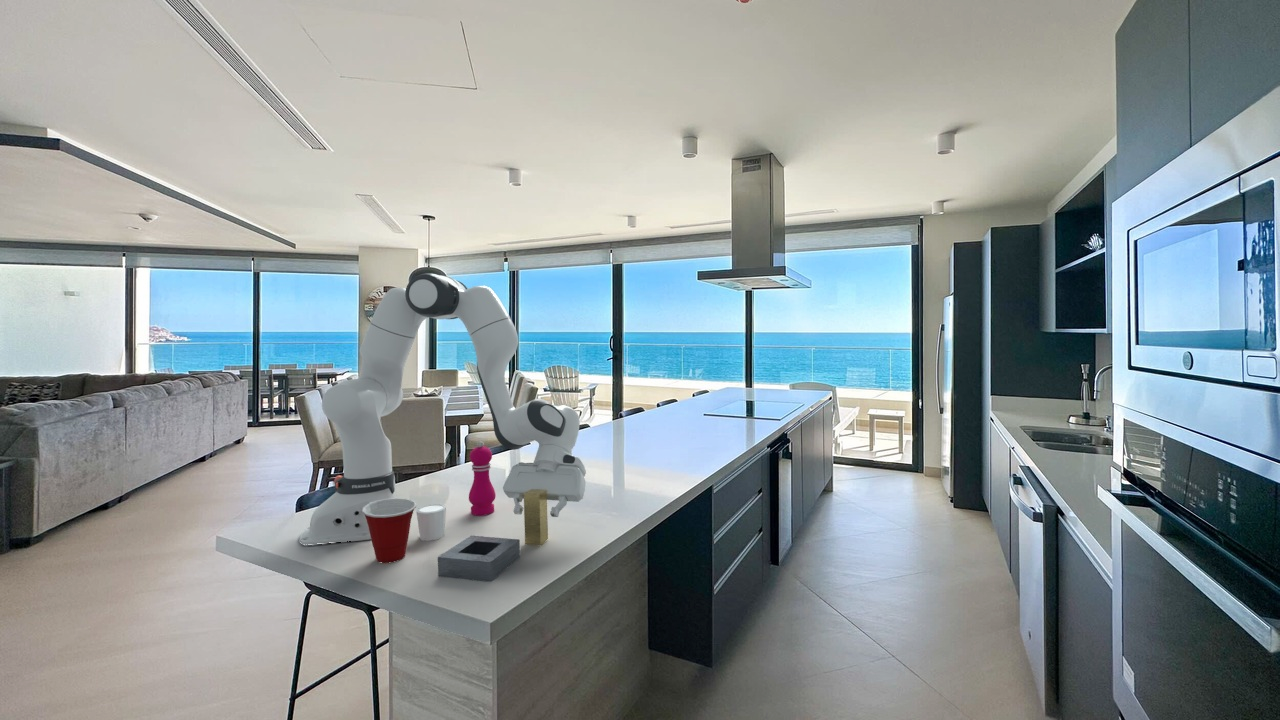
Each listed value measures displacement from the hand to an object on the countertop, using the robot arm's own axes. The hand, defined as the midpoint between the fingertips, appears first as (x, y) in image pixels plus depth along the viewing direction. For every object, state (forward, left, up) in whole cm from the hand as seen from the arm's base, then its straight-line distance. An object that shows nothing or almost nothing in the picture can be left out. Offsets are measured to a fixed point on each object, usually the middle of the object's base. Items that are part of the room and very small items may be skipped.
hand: (535, 514), depth 123 cm
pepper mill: (-8, +29, -7) cm, 31 cm away
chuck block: (-14, -8, -7) cm, 17 cm away
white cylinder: (-22, +16, -7) cm, 28 cm away
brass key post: (0, 0, -7) cm, 7 cm away
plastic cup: (-31, +6, -7) cm, 32 cm away
